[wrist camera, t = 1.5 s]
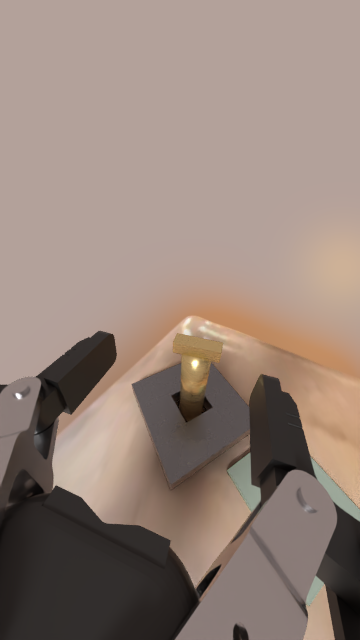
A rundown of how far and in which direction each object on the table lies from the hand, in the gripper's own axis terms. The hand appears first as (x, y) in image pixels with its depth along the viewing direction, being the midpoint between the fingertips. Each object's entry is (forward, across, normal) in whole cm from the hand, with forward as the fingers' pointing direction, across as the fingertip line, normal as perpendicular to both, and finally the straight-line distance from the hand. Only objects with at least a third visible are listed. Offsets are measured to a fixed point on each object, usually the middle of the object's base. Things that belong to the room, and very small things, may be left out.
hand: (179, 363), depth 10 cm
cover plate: (+13, 0, +24) cm, 27 cm away
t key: (+13, 0, +24) cm, 27 cm away
